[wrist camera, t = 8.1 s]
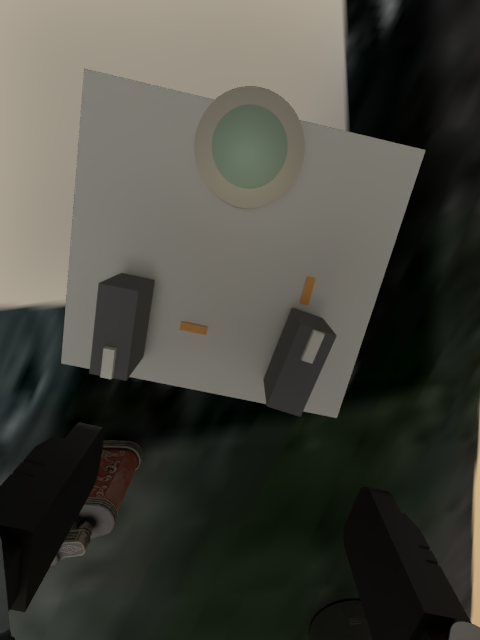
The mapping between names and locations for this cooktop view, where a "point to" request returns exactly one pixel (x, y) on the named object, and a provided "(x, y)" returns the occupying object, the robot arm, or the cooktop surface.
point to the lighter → (103, 497)
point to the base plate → (229, 230)
